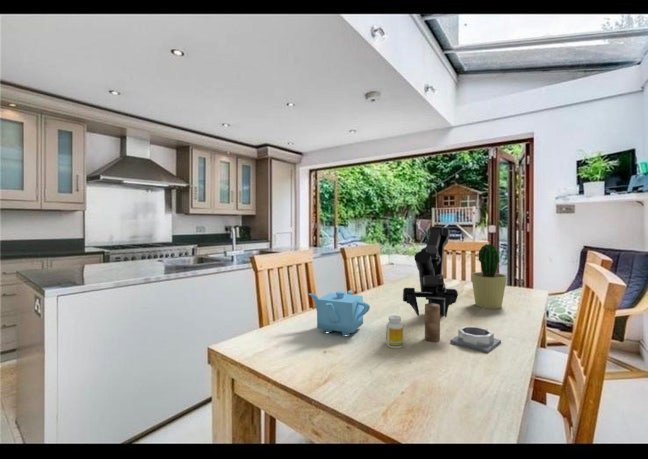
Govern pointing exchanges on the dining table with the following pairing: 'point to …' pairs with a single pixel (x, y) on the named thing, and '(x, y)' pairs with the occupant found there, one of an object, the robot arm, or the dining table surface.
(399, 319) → the supplement bottle
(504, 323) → the dining table surface
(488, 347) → the dock
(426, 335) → the peg
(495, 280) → the potted cactus
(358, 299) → the teakettle
